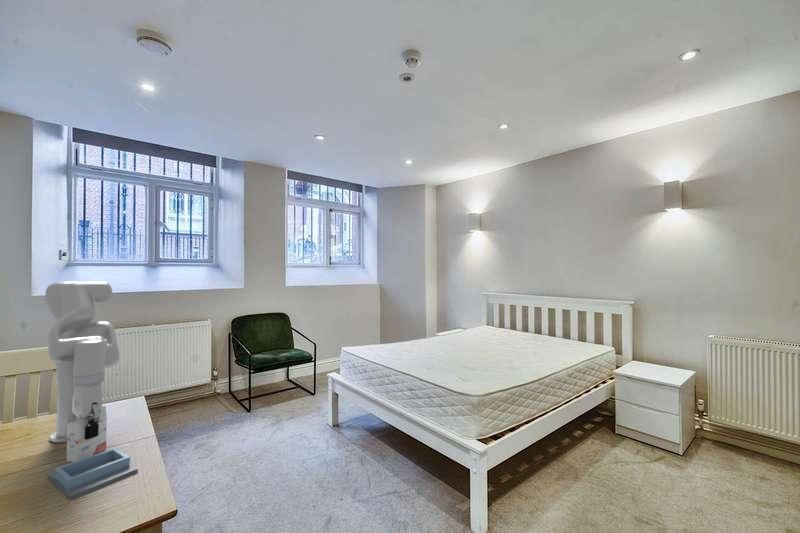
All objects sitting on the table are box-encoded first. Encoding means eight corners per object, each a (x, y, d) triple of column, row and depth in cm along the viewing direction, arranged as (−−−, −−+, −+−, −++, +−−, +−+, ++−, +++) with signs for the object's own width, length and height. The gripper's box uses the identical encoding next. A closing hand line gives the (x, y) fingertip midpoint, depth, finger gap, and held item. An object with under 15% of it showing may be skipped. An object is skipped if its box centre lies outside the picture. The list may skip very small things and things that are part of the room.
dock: (47, 477, 99) (47, 465, 99) (111, 454, 112) (112, 443, 112) (70, 499, 90) (70, 486, 90) (137, 471, 103) (137, 460, 103)
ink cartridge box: (94, 447, 116) (96, 403, 116) (106, 449, 115) (108, 404, 115) (65, 461, 108) (66, 413, 108) (77, 463, 107) (79, 415, 107)
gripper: (63, 377, 113) (61, 432, 113) (84, 386, 104) (82, 447, 104) (93, 371, 119) (91, 424, 119) (114, 380, 110) (113, 437, 110)
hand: (87, 434), depth 111 cm, fingers closed on ink cartridge box, 6 cm apart
